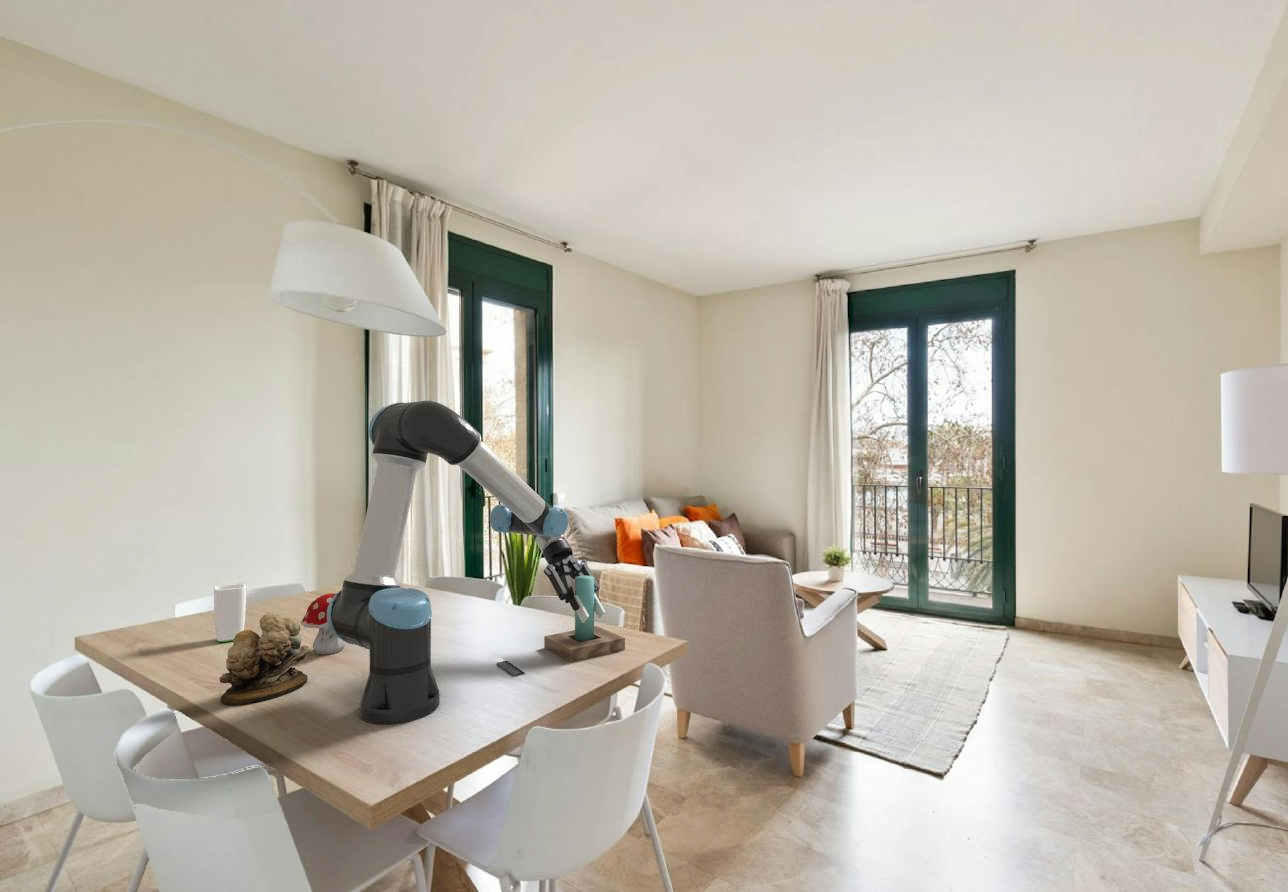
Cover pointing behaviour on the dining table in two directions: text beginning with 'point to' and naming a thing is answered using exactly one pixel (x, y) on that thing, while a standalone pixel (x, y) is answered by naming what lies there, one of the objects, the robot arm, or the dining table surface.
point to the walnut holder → (584, 644)
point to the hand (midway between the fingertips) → (594, 617)
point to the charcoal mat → (510, 668)
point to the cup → (229, 610)
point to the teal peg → (586, 595)
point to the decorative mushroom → (322, 626)
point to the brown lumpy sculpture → (264, 662)
